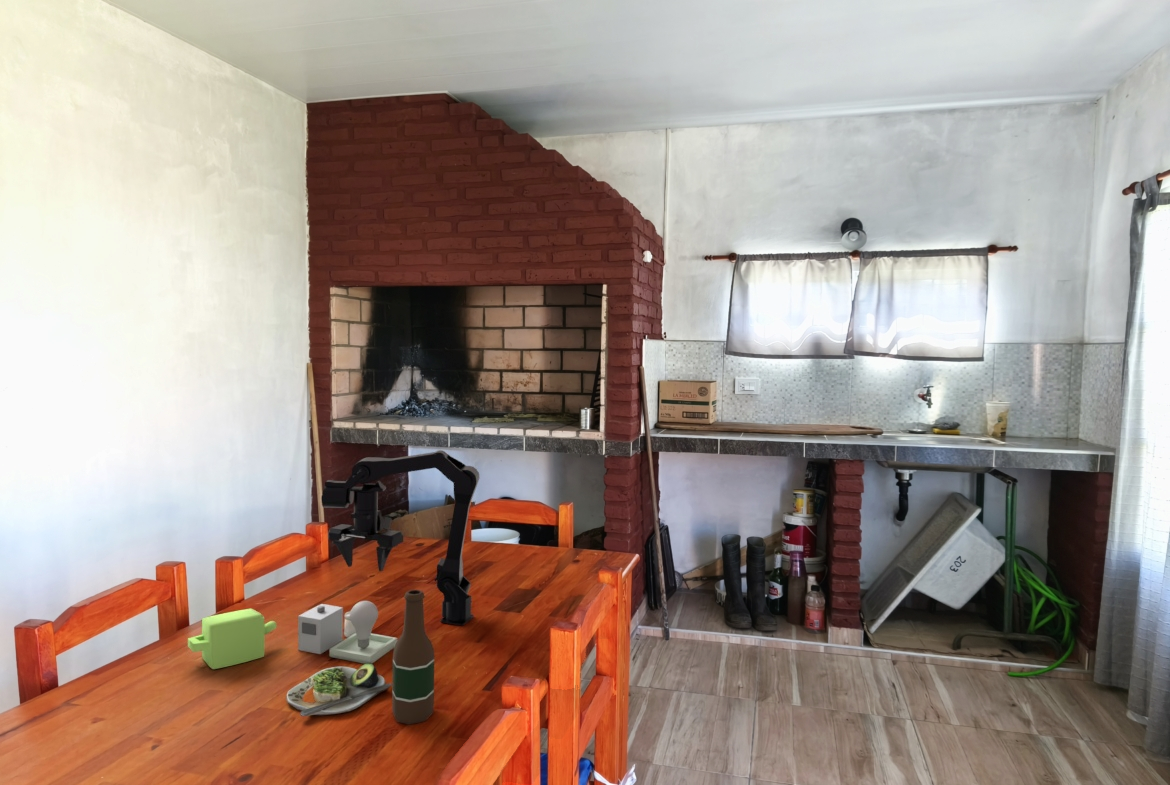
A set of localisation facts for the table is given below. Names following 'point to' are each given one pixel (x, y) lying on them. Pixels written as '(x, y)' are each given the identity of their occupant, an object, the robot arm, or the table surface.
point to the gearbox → (232, 638)
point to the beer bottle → (413, 666)
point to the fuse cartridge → (348, 625)
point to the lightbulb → (363, 621)
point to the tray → (368, 655)
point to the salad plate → (337, 690)
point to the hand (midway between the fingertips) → (365, 568)
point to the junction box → (320, 628)
